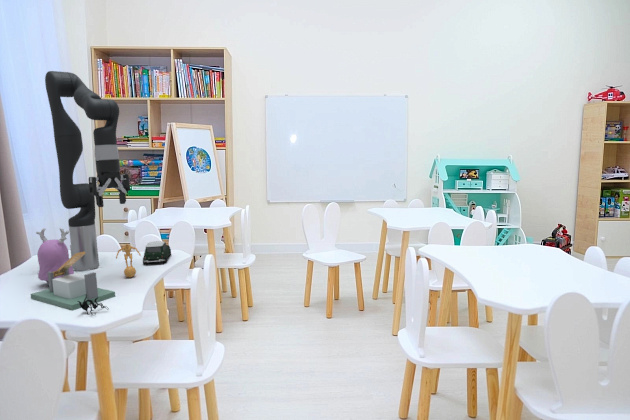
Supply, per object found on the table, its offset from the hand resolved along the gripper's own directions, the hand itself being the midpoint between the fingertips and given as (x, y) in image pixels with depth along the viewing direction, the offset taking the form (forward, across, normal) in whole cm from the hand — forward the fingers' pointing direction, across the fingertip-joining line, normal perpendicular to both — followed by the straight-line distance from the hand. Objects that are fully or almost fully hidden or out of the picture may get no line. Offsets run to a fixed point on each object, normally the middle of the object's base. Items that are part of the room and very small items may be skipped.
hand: (111, 205), depth 163 cm
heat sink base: (+27, +19, +4) cm, 33 cm away
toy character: (+27, +13, -16) cm, 34 cm away
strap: (+17, +19, +4) cm, 26 cm away
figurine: (+27, -5, 0) cm, 27 cm away
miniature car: (+27, -26, -11) cm, 39 cm away
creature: (+28, +24, +23) cm, 43 cm away
